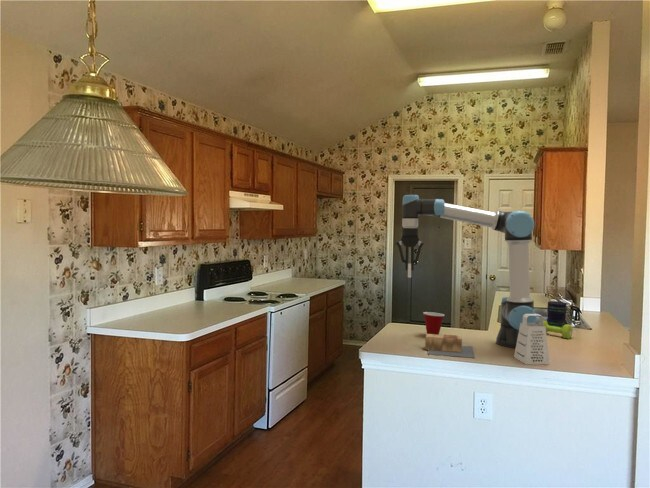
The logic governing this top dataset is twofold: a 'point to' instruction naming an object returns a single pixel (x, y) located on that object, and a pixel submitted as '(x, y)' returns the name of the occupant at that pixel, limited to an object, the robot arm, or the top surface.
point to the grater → (532, 342)
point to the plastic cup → (433, 322)
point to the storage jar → (556, 313)
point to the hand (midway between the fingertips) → (409, 277)
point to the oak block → (443, 342)
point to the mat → (466, 352)
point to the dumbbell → (560, 330)
